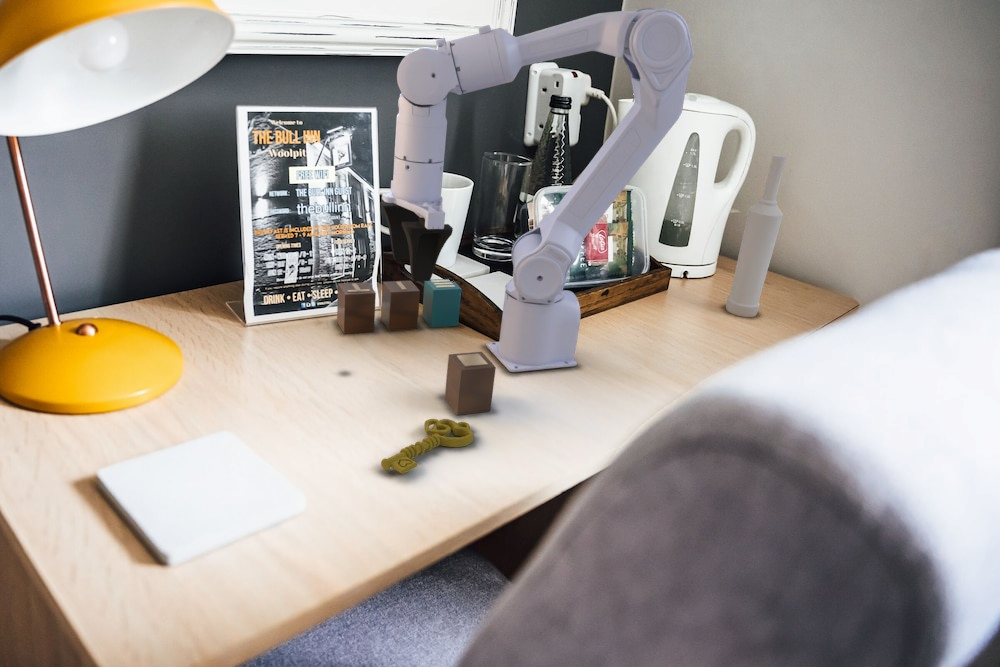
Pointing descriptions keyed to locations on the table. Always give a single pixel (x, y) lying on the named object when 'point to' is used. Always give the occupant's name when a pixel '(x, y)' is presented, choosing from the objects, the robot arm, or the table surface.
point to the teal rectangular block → (441, 303)
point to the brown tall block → (469, 383)
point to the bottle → (757, 246)
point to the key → (430, 443)
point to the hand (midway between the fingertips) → (411, 269)
